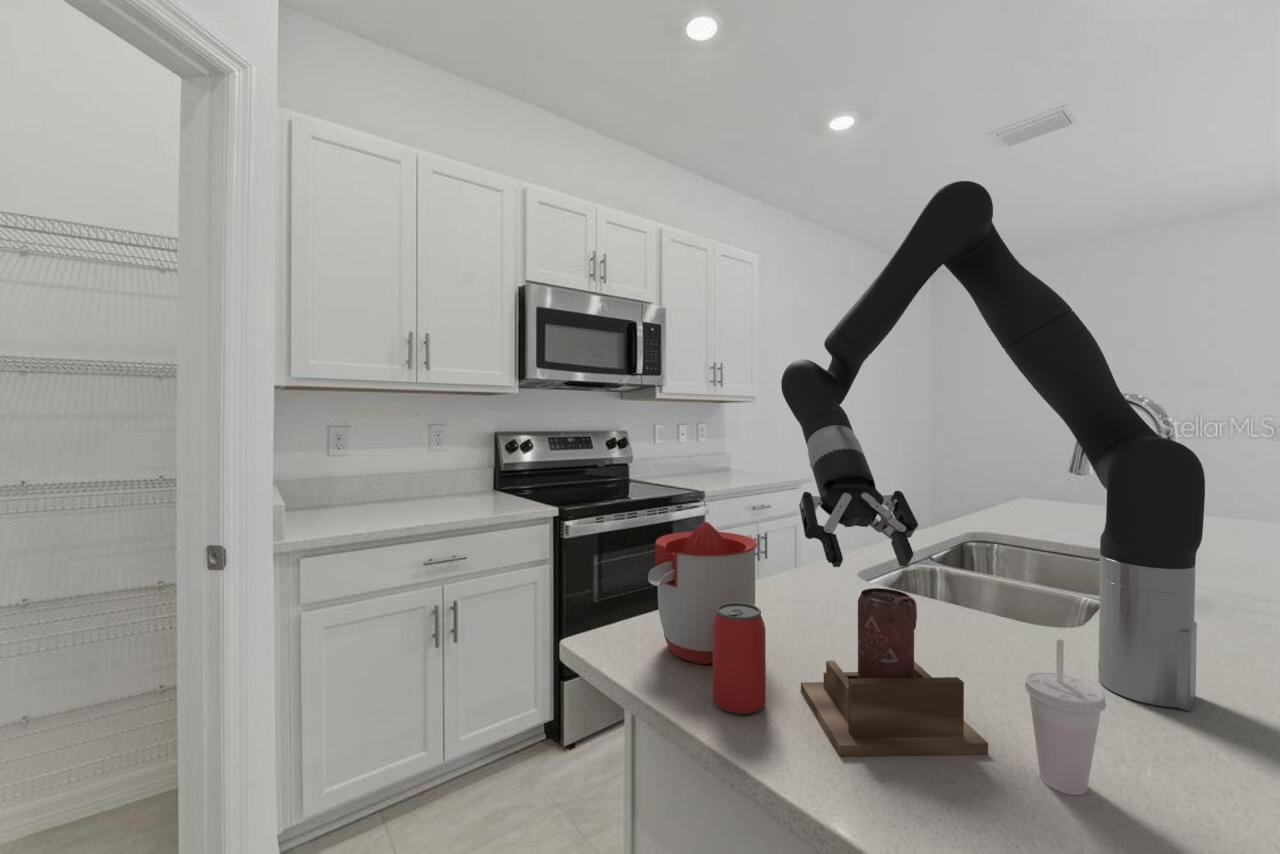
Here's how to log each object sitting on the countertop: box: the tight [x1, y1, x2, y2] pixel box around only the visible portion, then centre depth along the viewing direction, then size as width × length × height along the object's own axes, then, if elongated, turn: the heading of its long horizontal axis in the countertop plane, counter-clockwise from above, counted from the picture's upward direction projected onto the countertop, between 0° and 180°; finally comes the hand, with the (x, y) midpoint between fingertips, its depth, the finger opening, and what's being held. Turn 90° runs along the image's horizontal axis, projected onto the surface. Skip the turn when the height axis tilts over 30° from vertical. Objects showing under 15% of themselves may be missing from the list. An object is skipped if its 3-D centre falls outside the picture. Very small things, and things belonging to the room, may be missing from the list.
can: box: [857, 587, 918, 679], centre depth 67 cm, size 6×6×14 cm
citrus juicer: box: [647, 521, 758, 665], centre depth 87 cm, size 16×17×20 cm
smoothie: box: [1024, 638, 1107, 796], centre depth 56 cm, size 6×6×14 cm
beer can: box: [712, 602, 767, 715], centre depth 71 cm, size 7×7×12 cm
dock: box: [800, 660, 989, 757], centre depth 67 cm, size 14×16×7 cm
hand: (872, 563), depth 70 cm, fingers open, 8 cm apart
